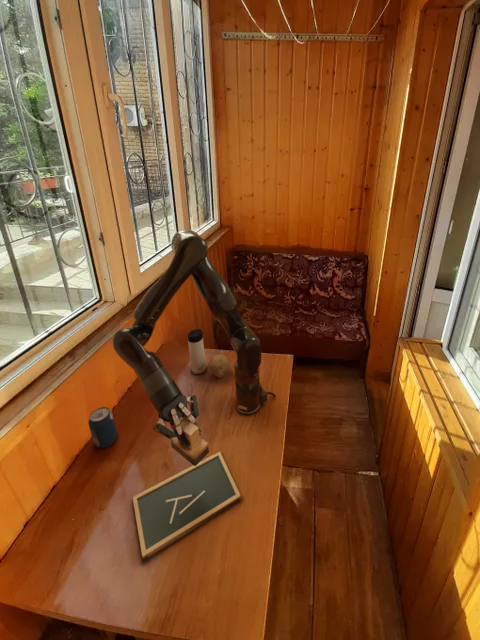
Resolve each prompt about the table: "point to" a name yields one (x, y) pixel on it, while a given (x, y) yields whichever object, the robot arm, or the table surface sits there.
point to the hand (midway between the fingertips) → (193, 440)
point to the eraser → (191, 443)
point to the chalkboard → (183, 503)
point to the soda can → (102, 427)
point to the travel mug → (196, 351)
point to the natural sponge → (219, 365)
